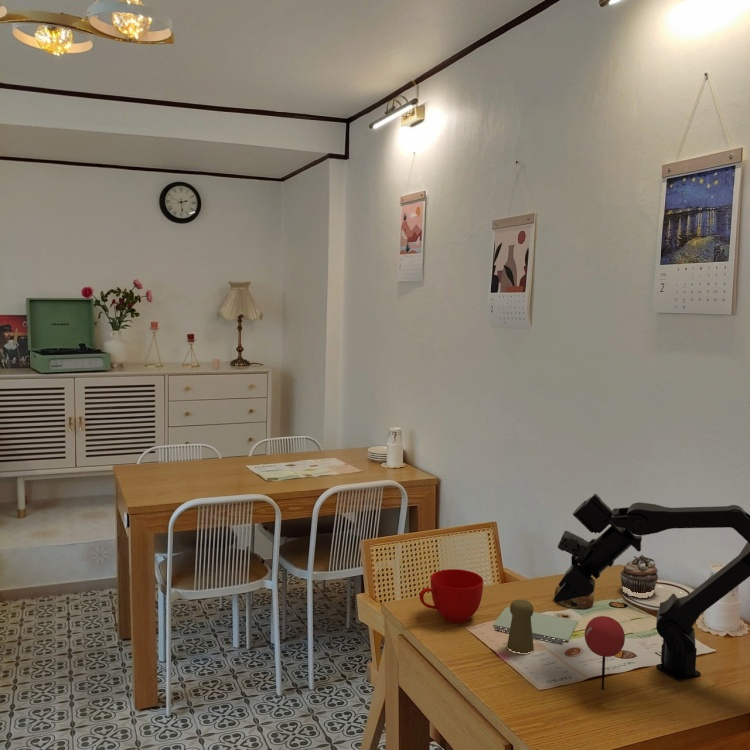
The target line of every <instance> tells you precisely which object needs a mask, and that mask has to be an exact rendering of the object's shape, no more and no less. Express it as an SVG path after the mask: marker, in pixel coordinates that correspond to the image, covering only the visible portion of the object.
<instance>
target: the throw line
mask: <svg viewBox="0 0 750 750" xmlns="http://www.w3.org/2000/svg"><path fill="white" fill-rule="evenodd" d="M495 629H497V630H501V631H502V630H503V631H505V632H510V629H507V630H506V629H505V628H500V627H494V630H495ZM504 629H505V630H504ZM505 632H504V633H505ZM532 635H533V638H536V639H535V640H538V639H543V640H548V641H552V642H557V643H563V644H564V642H563V640H558V639H552V638H548V637H544V636H539V635H534V634H532ZM543 640H542V641H543ZM548 641H547V642H548ZM552 642H551V643H552ZM557 643H556V644H557Z"/></svg>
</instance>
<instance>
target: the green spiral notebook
mask: <svg viewBox="0 0 750 750" xmlns="http://www.w3.org/2000/svg"><path fill="white" fill-rule="evenodd" d="M511 620H512V614H511V612H510V606H506V607H505V608H504V609H503V611H502V612H501V614H499V616H498V617H497V618H496V620H495V621H494V623H492V627H493V626H497V627H502V628H507V629H510V626H511ZM577 623H578V624H579V620H576V619H572V618H568V617H567V618H566V617H561V616H557V615H556V616H555V615H551V614H546V613H542V612H536V611H533V615H532V616H531V625H532V634H534V635H539V636H545V637H550V638H555V639H559V640H565V641H569V642H570V640H571V638H570V637H572V636H573V634H574V632H575V630H576V628H577V626H578V624H577ZM576 625H577V626H576ZM575 627H576V628H575ZM574 629H575V630H574ZM573 631H574V632H573ZM572 633H573V634H572ZM571 635H572V636H571ZM569 639H570V640H569Z"/></svg>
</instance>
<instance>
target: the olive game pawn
mask: <svg viewBox="0 0 750 750" xmlns="http://www.w3.org/2000/svg"><path fill="white" fill-rule="evenodd" d="M509 607H510V612H511V614H512V620H511V626H510V632H509V633H508V638H507V639H508V640H507V644H506V645H507V646H506V648H507V647H508V648H509V649H511V650H512V651H515V652H520V653H528V652H531V651H533V650H534V651H535V647H534V639H533V635H532V625H531V616H532V615H533V612H534V606H533V604H532V602H531V601H528V600H526V599H516V600H515V599H514V600H513V601H511V603H510V606H509ZM534 651H533V652H534Z"/></svg>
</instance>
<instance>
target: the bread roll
mask: <svg viewBox="0 0 750 750" xmlns="http://www.w3.org/2000/svg"><path fill="white" fill-rule="evenodd" d="M560 589H561V587H560V586H559V583H558V584H557V585H556V587H555V590H554V596H555V595H556V594H557V593H558V591H559V590H560ZM594 595H595V593H594V592H593V593H592V594H590V595H589V596H588V597H586V596H585V597H583V596H582V597H578V598H573V599H569V600H565V601H562V602H558V603H559V604H560V605H562V606H564V607H565V608H567V609H568V608H571V609H582V608H585V609H590V608H591V607H592V606H593V605H594V603H595V602H594V600H595V596H594Z"/></svg>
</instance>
